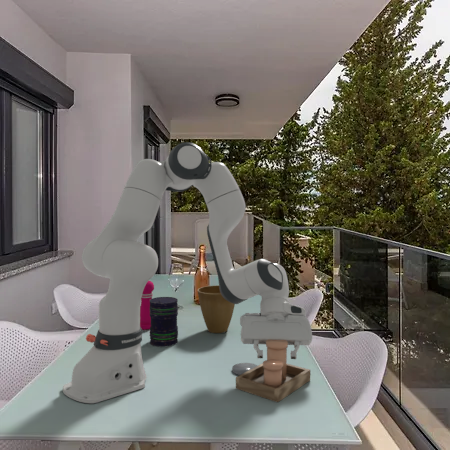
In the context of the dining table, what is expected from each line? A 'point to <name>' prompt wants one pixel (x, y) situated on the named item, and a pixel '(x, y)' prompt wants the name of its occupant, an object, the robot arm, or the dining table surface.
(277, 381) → the small pot
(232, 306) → the plant pot
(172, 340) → the storage jar
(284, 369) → the tall pot
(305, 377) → the wooden tray
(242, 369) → the grey disc
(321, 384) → the dining table surface
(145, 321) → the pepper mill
